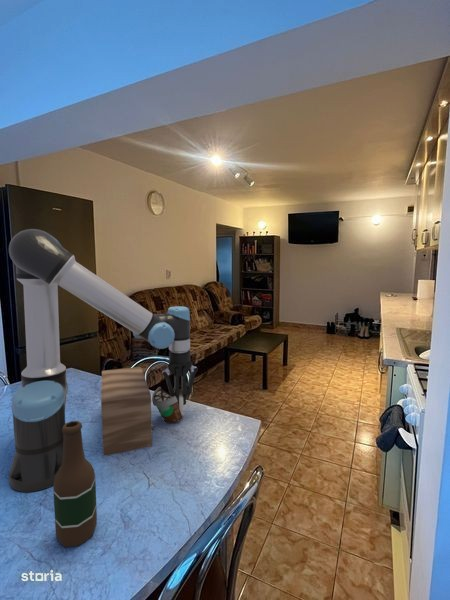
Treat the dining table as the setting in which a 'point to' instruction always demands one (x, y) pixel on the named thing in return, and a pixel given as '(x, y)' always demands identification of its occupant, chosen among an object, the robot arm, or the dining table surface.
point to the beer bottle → (74, 491)
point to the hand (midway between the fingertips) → (180, 413)
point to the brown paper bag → (125, 411)
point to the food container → (167, 406)
